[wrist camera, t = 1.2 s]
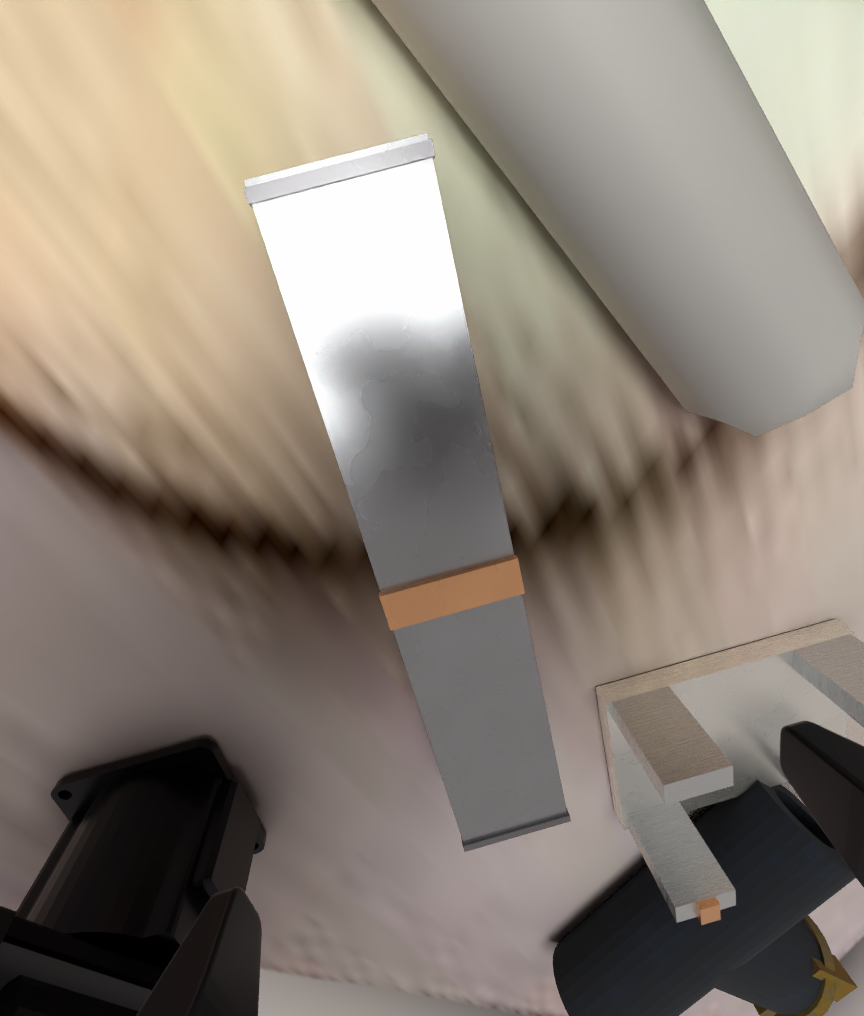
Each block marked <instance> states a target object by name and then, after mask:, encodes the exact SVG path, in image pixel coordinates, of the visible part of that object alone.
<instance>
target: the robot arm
mask: <svg viewBox="0 0 864 1016" xmlns="http://www.w3.org/2000/svg"><path fill="white" fill-rule="evenodd" d="M201 752H205V753H201ZM780 765H781V768H782V771H783V773H784V775H785V777H786V778H787V780H788V781H789V783H790V784H791V785H792V787H793V788H794V790H795V791H796V793H797V794H798V796H799V797H800V798H801V800H802V801H803V803H804V804H805V806H806V807H807V808H808V810H809V811H810V813H811V814H812V816H813V817H814V819H815V820H816V821H817V823H818V824H819V826H820V827H821V829H822V830H823V831H824V833H825V834H826V836H827V837H828V839H829V840H830V842H831V843H832V844H833V846H834V847H835V849H836V850H837V852H838V853H839V854H840V856H841V857H842V859H843V860H844V862H845V863H846V864H847V866H848V867H849V869H850V870H851V871H852V873H853V874H854V875H855V877H856V878H857V879H858V881H859V882H860V883H861V884H862V886H863V887H864V746H862V745H860V744H858V743H856V742H854V741H851V740H849V739H847V738H845V737H843V736H841V735H839V734H837V733H835V732H832V731H830V730H828V729H826V728H824V727H822V726H820V725H818V724H816V723H813V722H810V721H800V722H796V723H793V724H789V725H786V726H784V727H783V728H782V729H781V732H780ZM51 796H52V798H53V800H54V801H55V802H56V804H57V805H58V806H59V808H60V809H61V810H62V811H63V813H64V814H65V815H66V817H67V818H68V819H69V821H70V822H69V824H68V825H67V827H66V829H65V830H64V832H63V834H62V835H61V837H60V839H59V840H58V842H57V844H56V846H55V847H54V849H53V851H52V852H51V854H50V856H49V857H48V859H47V861H46V863H45V864H44V866H43V868H42V869H41V871H40V873H39V874H38V876H37V878H36V879H35V881H34V883H33V885H32V886H31V888H30V890H29V891H28V893H27V895H26V896H25V898H24V900H23V901H22V903H21V905H20V907H19V908H18V910H17V912H16V911H13V910H10V909H7V908H5V907H2V906H0V1016H258V1000H259V979H260V957H261V936H262V930H261V921H260V918H259V915H258V913H257V911H256V910H255V908H254V907H253V905H252V903H251V902H250V900H249V898H248V897H247V895H246V894H245V890H246V885H247V881H248V876H249V871H250V867H251V862H252V857H253V854H256V853H259V852H261V851H262V850H263V849H264V846H265V841H266V834H265V832H264V831H263V829H262V827H261V825H260V819H259V817H258V815H257V814H256V812H255V810H254V808H253V806H252V805H251V803H250V801H249V799H248V797H247V796H246V794H245V792H244V790H243V788H242V786H241V785H240V783H239V782H238V781H237V780H236V779H235V778H234V776H233V775H232V773H231V771H230V769H229V767H228V766H227V764H226V762H225V760H224V758H223V757H222V755H221V753H220V751H219V749H218V748H217V746H216V744H215V743H214V742H213V741H211V740H208V739H199V740H195V741H192V742H188V743H185V744H181V745H178V746H174V747H171V748H167V749H163V750H160V751H156V752H153V753H149V754H146V755H142V756H139V757H135V758H132V759H128V760H125V761H121V762H117V763H114V764H110V765H107V766H103V767H100V768H96V769H93V770H89V771H86V772H82V773H78V774H75V775H71V776H68V777H64V778H62V779H60V780H59V781H58V782H57V784H56V785H55V787H54V788H53V790H52V792H51Z"/></svg>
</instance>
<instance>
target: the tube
mask: <svg viewBox="0 0 864 1016" xmlns="http://www.w3.org/2000/svg"><path fill="white" fill-rule="evenodd" d="M372 2H373V3H374V4H375V6H376V7H377V8H378V10H379V11H380V12H381V14H382V15H383V16H384V17H385V19H386V20H387V21H388V23H389V24H390V25H391V27H392V28H393V29H394V31H395V32H396V33H397V34H398V36H399V37H400V38H401V40H402V41H403V42H404V44H405V45H406V46H407V47H408V49H409V50H410V51H411V53H412V54H413V55H414V57H415V58H416V59H417V61H418V62H419V63H420V64H421V66H422V67H423V68H424V70H425V71H426V72H427V74H428V75H429V76H430V77H431V79H432V80H433V81H434V83H435V84H436V85H437V87H438V88H439V89H440V91H441V92H442V93H443V94H444V96H445V97H446V98H447V100H448V101H449V102H450V104H451V105H452V106H453V108H454V109H455V110H456V111H457V113H458V114H459V115H460V117H461V118H462V119H463V121H464V122H465V123H466V124H467V126H468V127H469V128H470V130H471V131H472V132H473V134H474V135H475V136H476V138H477V139H478V140H479V141H480V143H481V144H482V145H483V147H484V148H485V149H486V151H487V152H488V153H489V154H490V156H491V157H492V158H493V160H494V161H495V162H496V164H497V165H498V166H499V168H500V169H501V170H502V171H503V173H504V174H505V175H506V177H507V178H508V179H509V181H510V182H511V183H512V184H513V186H514V187H515V188H516V190H517V191H518V192H519V194H520V195H521V196H522V198H523V199H524V200H525V201H526V203H527V204H528V205H529V207H530V208H531V209H532V211H533V212H534V213H535V215H536V216H537V217H538V218H539V220H540V221H541V222H542V224H543V225H544V226H545V228H546V229H547V230H548V231H549V233H550V234H551V235H552V237H553V238H554V239H555V241H556V242H557V243H558V245H559V246H560V247H561V248H562V250H563V251H564V252H565V254H566V255H567V256H568V258H569V259H570V260H571V261H572V263H573V264H574V265H575V267H576V268H577V269H578V271H579V272H580V273H581V275H582V276H583V277H584V278H585V280H586V281H587V282H588V284H589V285H590V286H591V288H592V289H593V290H594V292H595V293H596V294H597V295H598V297H599V298H600V299H601V301H602V302H603V303H604V305H605V306H606V307H607V308H608V310H609V311H610V312H611V314H612V315H613V316H614V318H615V319H616V320H617V322H618V323H619V324H620V325H621V327H622V328H623V329H624V331H625V332H626V333H627V335H628V336H629V337H630V338H631V340H632V341H633V342H634V344H635V345H636V346H637V348H638V349H639V350H640V352H641V353H642V354H643V355H644V357H645V358H646V359H647V361H648V362H649V363H650V365H651V366H652V367H653V368H654V370H655V371H656V372H657V374H658V375H659V376H660V378H661V379H662V380H663V382H664V383H665V384H666V385H667V387H668V388H669V389H670V391H671V392H672V393H673V395H674V396H675V397H676V399H677V400H678V401H679V402H680V404H681V405H682V406H683V408H684V409H685V410H686V411H688V412H691V413H694V414H697V415H701V416H704V417H707V418H711V419H714V420H717V421H720V422H724V423H726V424H728V425H731V426H733V427H735V428H737V429H740V430H742V431H744V432H746V433H749V434H751V435H753V436H755V437H757V436H760V435H762V434H764V433H766V432H769V431H771V430H773V429H776V428H778V427H780V426H782V425H785V424H787V423H789V422H792V421H794V420H796V419H798V418H801V417H803V416H805V415H807V414H808V413H810V412H812V411H814V410H815V409H817V408H819V407H820V406H822V405H824V404H825V403H827V402H829V401H831V400H832V399H834V398H836V397H837V396H839V395H841V394H842V393H844V392H846V391H848V390H849V389H851V388H852V387H853V381H854V376H855V370H856V364H857V358H858V353H859V347H860V341H861V335H862V329H863V324H864V300H863V298H862V296H861V294H860V292H859V290H858V288H857V286H856V285H855V283H854V281H853V279H852V277H851V275H850V273H849V271H848V270H847V268H846V266H845V264H844V262H843V260H842V258H841V256H840V255H839V253H838V251H837V249H836V247H835V245H834V243H833V241H832V240H831V238H830V236H829V234H828V232H827V230H826V228H825V226H824V225H823V223H822V221H821V219H820V217H819V215H818V213H817V211H816V210H815V208H814V206H813V204H812V202H811V200H810V198H809V196H808V195H807V193H806V191H805V189H804V187H803V185H802V183H801V181H800V180H799V178H798V176H797V174H796V172H795V170H794V168H793V166H792V165H791V163H790V161H789V159H788V157H787V155H786V153H785V151H784V150H783V148H782V146H781V144H780V142H779V140H778V138H777V136H776V135H775V133H774V131H773V129H772V127H771V125H770V123H769V121H768V120H767V118H766V116H765V114H764V112H763V110H762V108H761V106H760V105H759V103H758V101H757V99H756V97H755V95H754V93H753V91H752V90H751V88H750V86H749V84H748V82H747V80H746V78H745V76H744V75H743V73H742V71H741V69H740V67H739V65H738V63H737V61H736V60H735V58H734V56H733V54H732V52H731V50H730V48H729V46H728V45H727V43H726V41H725V39H724V37H723V35H722V33H721V31H720V30H719V28H718V26H717V24H716V22H715V20H714V18H713V16H712V15H711V13H710V11H709V9H708V7H707V5H706V3H705V1H704V0H372Z"/></svg>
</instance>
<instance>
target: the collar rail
mask: <svg viewBox="0 0 864 1016" xmlns="http://www.w3.org/2000/svg"><path fill="white" fill-rule="evenodd" d="M855 633H856V632H854V631H853V630H851V629H850V628H848V627H847V626H845V625H843V624H842V623H840V622H839V621H837V620H836V619H833V620H830V621H826V622H823V623H819V624H816V625H812V626H809V627H805V628H802V629H798V630H795V631H791V632H788V633H784V634H781V635H777V636H774V637H770V638H767V639H763V640H760V641H756V642H753V643H749V644H746V645H742V646H739V647H735V648H732V649H728V650H724V651H721V652H717V653H714V654H710V655H707V656H703V657H700V658H696V659H693V660H689V661H686V662H682V663H679V664H675V665H672V666H668V667H665V668H661V669H658V670H654V671H651V672H647V673H644V674H640V675H637V676H633V677H630V678H626V679H623V680H619V681H616V682H612V683H609V684H605V685H602V686H598V687H595V688H596V695H597V701H598V708H599V715H600V721H601V728H602V734H603V741H604V747H605V754H606V760H607V767H608V773H609V780H610V787H611V793H612V800H613V806H614V811H615V813H616V815H617V817H618V819H619V821H620V823H621V825H622V827H623V829H624V830H625V829H629V830H630V832H631V834H632V836H633V838H634V840H635V842H636V844H637V846H638V848H639V850H640V852H641V854H642V856H643V857H644V859H645V861H646V863H647V865H648V867H649V869H650V871H651V873H652V875H653V877H654V879H655V881H656V883H657V885H658V887H659V889H660V891H661V893H662V895H663V897H664V899H665V901H666V903H667V905H668V907H669V909H670V911H671V913H672V915H673V917H674V918H675V920H676V922H677V923H678V922H681V921H685V920H688V919H691V918H695V917H697V918H698V920H699V922H700V924H701V925H704V924H707V923H711V922H714V921H718V920H721V916H720V910H722V909H725V908H728V907H732V906H735V905H736V890H735V888H734V887H733V885H732V884H731V882H730V881H729V879H728V877H727V876H726V874H725V873H724V871H723V870H722V868H721V867H720V865H719V863H718V862H717V860H716V859H715V857H714V856H713V854H712V852H711V851H710V849H709V848H708V846H707V845H706V843H705V842H704V840H703V838H702V837H701V835H700V834H699V832H698V831H697V829H696V827H695V826H694V824H693V823H692V821H691V820H690V818H689V817H688V815H687V813H686V812H687V811H691V810H694V809H698V808H701V807H704V806H708V805H711V804H715V803H718V802H722V801H725V800H728V799H732V798H735V797H739V796H741V795H742V794H744V793H745V792H746V791H747V790H748V789H749V788H750V787H752V786H753V785H754V784H755V783H756V782H757V781H758V780H759V781H761V782H762V783H764V784H766V785H767V786H769V787H773V786H776V785H780V784H783V783H787V782H789V781H788V780H787V778H786V777H785V775H784V773H783V771H782V768H781V765H780V732H781V729H782V728H783V727H784V726H786V725H789V724H793V723H796V722H800V721H810V722H813V723H816V724H818V725H820V726H822V727H824V728H826V729H828V730H830V731H832V732H835V733H837V734H839V735H841V736H843V737H846V726H847V716H848V715H849V716H851V717H852V718H853V719H854V720H855V721H857V722H858V723H859V724H860V725H861V726H863V727H864V643H863V642H861V641H860V640H858V639H857V638H855ZM791 786H792V785H791Z"/></svg>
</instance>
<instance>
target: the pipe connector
mask: <svg viewBox="0 0 864 1016" xmlns="http://www.w3.org/2000/svg"><path fill="white" fill-rule="evenodd" d="M693 824H694V826H695V827H696V829H697V831H698V832H699V834H700V835H701V837H702V838H703V840H704V842H705V843H706V845H707V846H708V848H709V849H710V851H711V852H712V854H713V856H714V857H715V859H716V860H717V862H718V863H719V865H720V867H721V868H722V870H723V871H724V873H725V874H726V876H727V877H728V879H729V881H730V882H731V884H732V885H733V887H734V888H735V890H736V905H735V906H732V907H728V908H725V909H722V910H720V916H721V920H718V921H714V922H711V923H707V924H704V925H701V924H700V922H699V920H698V918H697V917H695V918H691V919H688V920H685V921H681V922H678V923H677V922H676V920H675V918H674V917H673V915H672V913H671V911H670V909H669V907H668V905H667V903H666V901H665V899H664V897H663V895H662V893H661V891H660V889H659V887H658V885H657V883H656V881H655V879H654V877H653V875H652V873H651V871H650V869H649V867H648V865H646V866H645V867H644V868H643V869H642V870H640V871H639V872H638V873H637V874H636V875H635V876H634V877H633V878H631V879H630V880H629V881H628V882H627V883H626V884H625V885H624V886H622V887H621V888H620V889H619V890H618V891H617V892H616V893H615V894H614V895H612V896H611V897H610V898H609V899H608V900H607V901H606V902H605V903H603V904H602V905H601V906H600V907H599V908H598V909H597V910H596V911H594V912H593V913H592V914H591V915H590V916H589V917H588V918H587V919H585V920H584V921H583V922H582V923H581V924H580V925H579V926H578V927H576V928H575V929H574V930H573V931H572V932H571V933H570V934H569V935H568V936H566V937H565V938H564V939H563V940H562V941H561V942H560V943H559V944H558V945H557V946H556V948H555V951H554V954H553V970H554V976H555V981H556V985H557V988H558V991H559V994H560V997H561V999H562V1002H563V1004H564V1007H565V1009H566V1011H567V1013H568V1015H569V1016H679V1015H680V1014H681V1013H683V1012H684V1011H685V1010H687V1009H688V1008H689V1007H690V1006H692V1005H693V1004H694V1003H696V1002H697V1001H698V1000H699V999H701V998H702V997H703V996H705V995H706V994H707V993H708V992H710V991H711V990H712V989H714V988H716V989H719V990H721V991H724V992H726V993H728V994H731V995H733V996H736V997H738V998H741V999H743V1000H745V1001H748V1002H750V1003H753V1004H754V1006H755V1008H756V1010H757V1012H758V1013H759V1015H760V1016H823V1015H824V1014H825V1013H826V1012H827V1011H828V1009H829V1007H830V1005H831V1004H832V1002H833V1000H834V1001H836V1002H838V1001H839V1000H840V999H842V998H843V997H845V996H846V995H847V994H849V993H850V992H852V991H853V990H854V989H856V988H857V986H856V985H855V983H854V982H853V980H852V979H851V978H850V976H849V975H848V973H847V972H846V971H845V969H844V968H843V967H842V965H841V964H840V962H839V961H838V960H837V958H836V957H835V956H834V955H832V954H831V951H830V948H829V946H828V944H827V942H826V940H825V937H824V936H823V934H822V933H821V931H820V930H819V928H818V926H817V925H816V924H815V923H814V922H813V920H812V919H811V918H810V917H809V916H808V914H810V913H811V912H812V911H814V910H815V909H816V908H817V907H819V906H820V905H821V904H823V903H824V902H825V901H826V900H828V899H829V898H830V897H832V896H833V895H834V894H835V893H837V892H838V891H839V890H841V889H842V888H843V887H844V886H846V885H847V884H848V883H849V882H851V881H852V880H853V879H855V878H856V877H855V875H854V874H853V873H852V871H851V870H850V869H849V867H848V866H847V864H846V863H845V862H844V860H843V859H842V857H841V856H840V854H839V853H838V852H837V850H836V849H835V847H834V846H833V844H832V843H831V842H830V840H829V839H828V837H827V836H826V834H825V833H824V831H823V830H822V829H821V827H820V826H819V824H818V823H817V821H816V820H815V819H814V817H813V816H812V814H811V813H810V811H809V810H808V808H807V807H806V806H805V805H804V804H803V803H802V802H801V801H800V800H798V799H797V798H796V797H795V796H794V795H793V794H792V793H791V792H790V791H788V790H787V789H786V788H785V787H783V786H781V785H776V786H773V787H769V786H767V785H766V784H764V783H762V782H761V781H759V780H758V781H757V782H756V783H755V784H754V785H753V786H752V787H750V788H749V789H748V790H747V791H746V792H745V793H744V794H742V795H741V796H739V797H735V798H732V799H728V800H725V801H722V802H718V803H716V804H714V805H713V806H712V807H711V808H710V809H709V810H708V811H707V812H705V813H704V814H703V815H702V816H701V817H700V818H699V819H698V820H696V821H695V822H694V823H693Z"/></svg>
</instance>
